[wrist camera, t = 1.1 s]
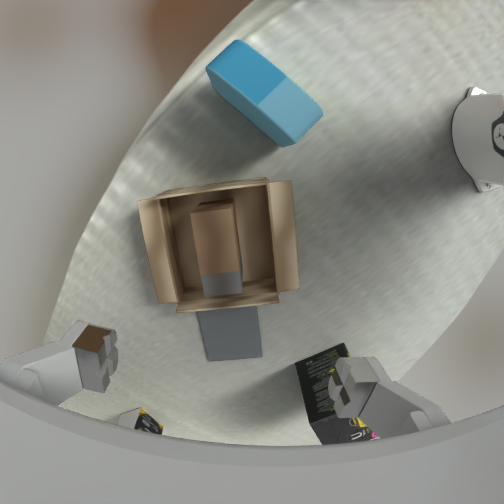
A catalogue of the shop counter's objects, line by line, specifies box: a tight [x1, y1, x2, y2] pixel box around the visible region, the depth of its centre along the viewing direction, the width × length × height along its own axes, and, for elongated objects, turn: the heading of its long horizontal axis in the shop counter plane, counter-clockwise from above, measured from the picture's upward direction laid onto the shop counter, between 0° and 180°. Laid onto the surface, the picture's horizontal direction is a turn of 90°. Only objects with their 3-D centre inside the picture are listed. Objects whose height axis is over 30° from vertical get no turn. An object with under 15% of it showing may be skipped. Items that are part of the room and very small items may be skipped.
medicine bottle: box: [117, 408, 163, 435], centre depth 47 cm, size 7×7×12 cm
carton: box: [137, 177, 299, 313], centre depth 38 cm, size 19×15×8 cm
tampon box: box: [295, 343, 377, 445], centre depth 42 cm, size 11×9×15 cm
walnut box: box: [190, 198, 243, 297], centre depth 37 cm, size 4×10×8 cm, turn 6°
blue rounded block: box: [205, 40, 323, 147], centre depth 30 cm, size 12×4×12 cm, turn 47°
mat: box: [197, 306, 262, 361], centre depth 45 cm, size 9×13×1 cm
